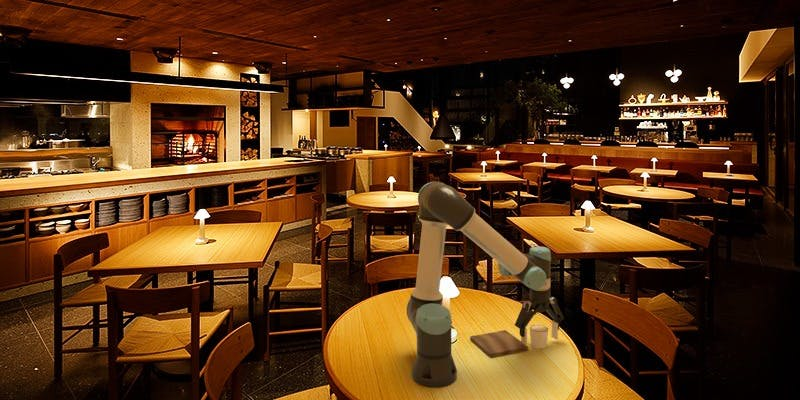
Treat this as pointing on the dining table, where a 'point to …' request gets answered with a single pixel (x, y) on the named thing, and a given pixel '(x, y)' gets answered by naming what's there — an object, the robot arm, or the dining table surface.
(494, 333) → the serving board
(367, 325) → the dining table surface
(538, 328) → the beige cylinder
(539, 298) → the robot arm
